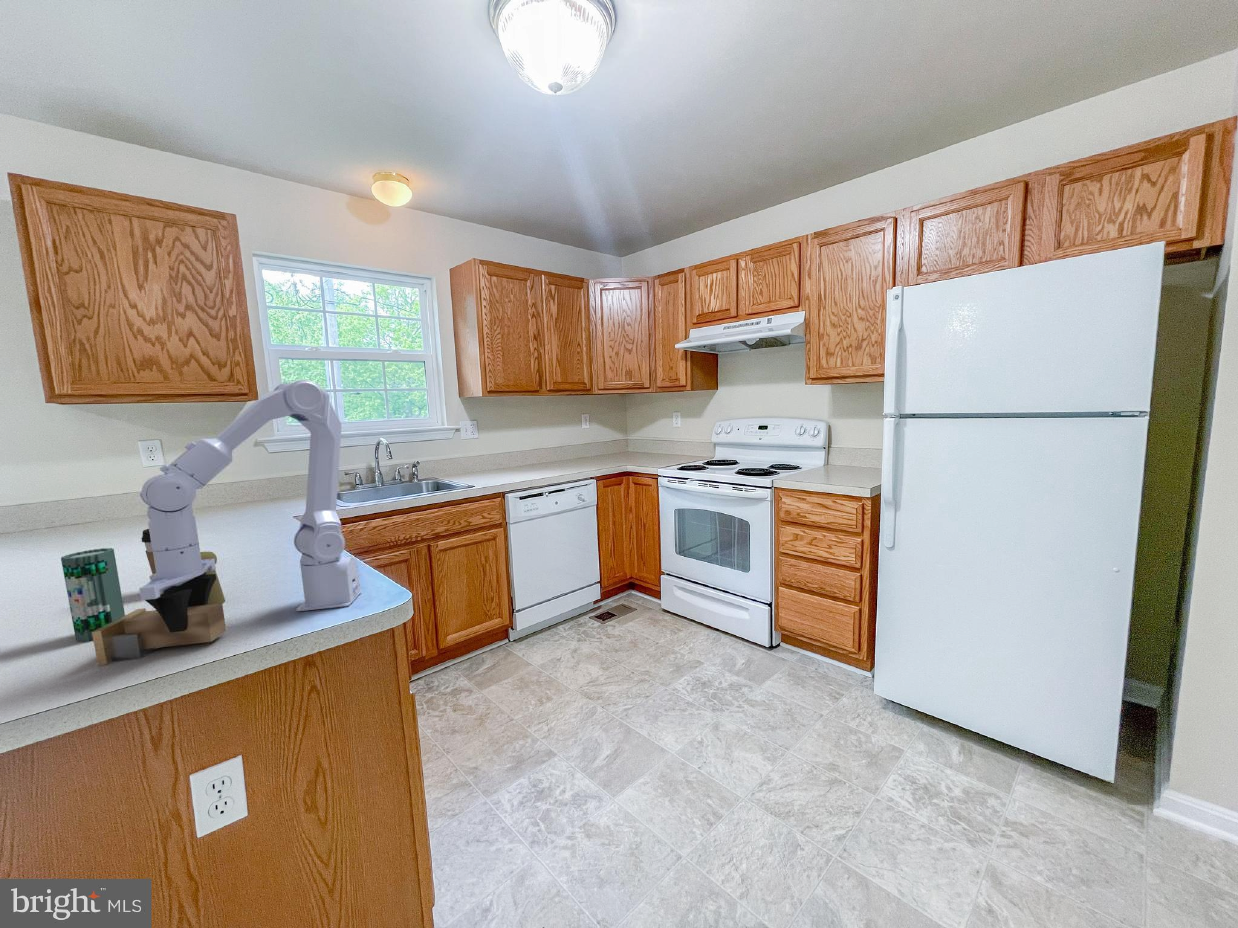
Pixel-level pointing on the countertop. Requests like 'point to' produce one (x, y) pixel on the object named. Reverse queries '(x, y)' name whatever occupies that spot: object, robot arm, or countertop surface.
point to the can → (92, 590)
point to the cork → (216, 591)
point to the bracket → (118, 642)
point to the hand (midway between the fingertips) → (188, 624)
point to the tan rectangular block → (201, 628)
